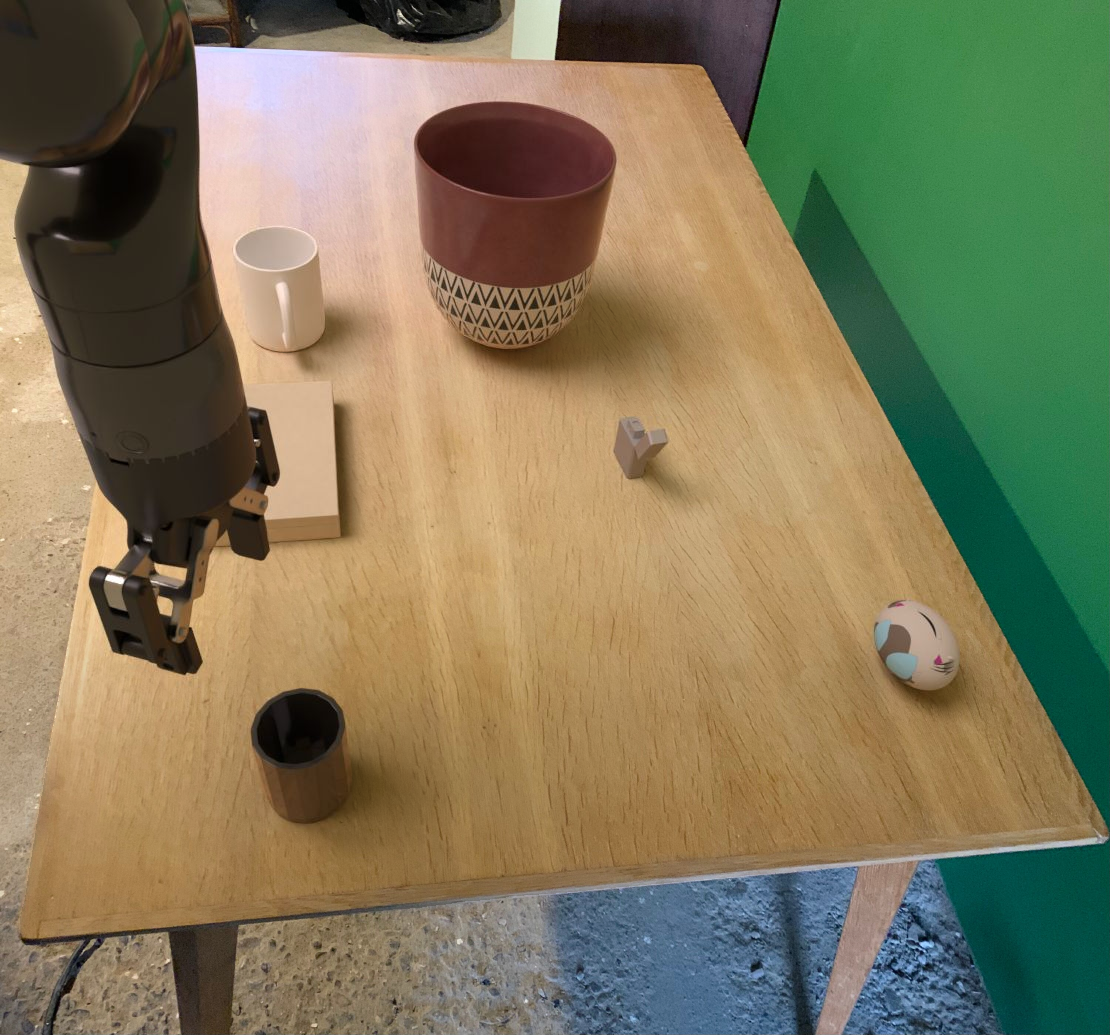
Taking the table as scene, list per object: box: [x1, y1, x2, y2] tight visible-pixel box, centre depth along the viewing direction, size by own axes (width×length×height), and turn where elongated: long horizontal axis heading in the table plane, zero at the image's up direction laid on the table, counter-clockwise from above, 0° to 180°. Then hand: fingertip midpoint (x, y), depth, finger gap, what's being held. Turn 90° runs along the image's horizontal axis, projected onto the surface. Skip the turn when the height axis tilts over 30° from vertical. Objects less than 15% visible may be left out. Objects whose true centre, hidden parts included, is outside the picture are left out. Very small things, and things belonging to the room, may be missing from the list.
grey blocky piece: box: [613, 415, 669, 480], centre depth 90 cm, size 7×2×8 cm, turn 18°
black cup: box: [249, 687, 353, 824], centre depth 65 cm, size 6×6×8 cm
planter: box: [413, 100, 618, 350], centre depth 99 cm, size 20×20×21 cm
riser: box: [214, 380, 342, 547], centre depth 87 cm, size 18×14×3 cm
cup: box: [232, 225, 326, 353], centre depth 98 cm, size 8×12×10 cm
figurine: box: [873, 596, 961, 691], centre depth 78 cm, size 8×6×7 cm
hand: (219, 607), depth 56 cm, fingers open, 8 cm apart
